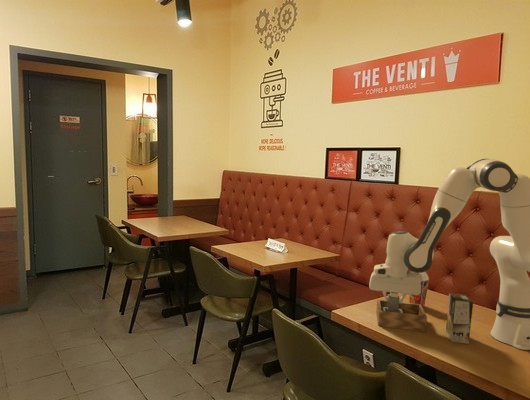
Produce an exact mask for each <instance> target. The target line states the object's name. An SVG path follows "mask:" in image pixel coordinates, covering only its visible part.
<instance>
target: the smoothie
mask: <svg viewBox="0 0 530 400" xmlns="http://www.w3.org/2000/svg"><path fill="white" fill-rule="evenodd" d="M420 274H421V275H422V282H421V283H420V284H421V293H420V294H419V295H411V294H408V295H409V296H408V298H409V299H408V301H409V302H408V303H413V304H421V306H422V308H424V306H425V305H426V298H427V294H428V286H429V283H430V282H429V280H430V277H429V275H428V274H427V271H425V272H422V273H420ZM420 274H419V275H420Z"/></svg>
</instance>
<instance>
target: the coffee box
mask: <svg viewBox="0 0 530 400" xmlns="http://www.w3.org/2000/svg"><path fill="white" fill-rule="evenodd" d="M473 307H474V301H473V300H472V299H471V298H470V297H469V296H468V295H467V294H466V293H465V294H464V293H451V292H449V293H448V302H447V313H446V326H445V333H446V335H447V337H448V338H449V340H450V341H451V342H453V343H459V344H466V345H469V343H470V335H471V325H472V317H473Z"/></svg>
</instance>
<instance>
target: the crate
mask: <svg viewBox="0 0 530 400" xmlns="http://www.w3.org/2000/svg"><path fill="white" fill-rule="evenodd" d="M387 304H388V302H385V299H384V300H383V299H376V311H375V313H376V319H377V326H379V327H387V328H394V329H395V328H396V329H402V330H410V331H411V330H412V331H417V332H426V330H427V320H428V318H427V315H426V312H425V310H424V307H422V306H421V304H413V303H410V302H403V301H402V304H399V310H398V313H397V312H389V311H388V310H387Z"/></svg>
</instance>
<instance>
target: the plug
mask: <svg viewBox="0 0 530 400" xmlns="http://www.w3.org/2000/svg"><path fill="white" fill-rule="evenodd" d="M387 297H389V300H388V301H389V302H388V304H387V310H388V311H389V312H397V313H398V310H399V298H400V296H399V293H393V292H389V293H388V294H387Z"/></svg>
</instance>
